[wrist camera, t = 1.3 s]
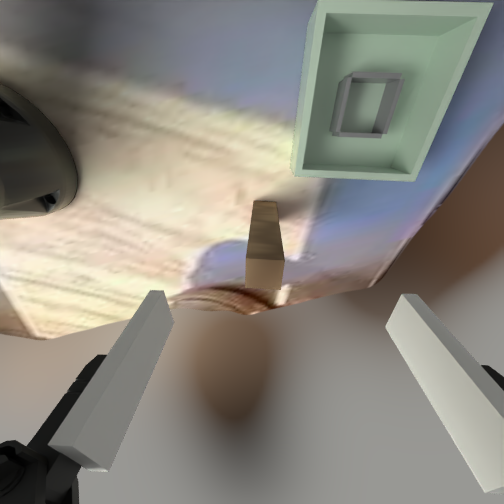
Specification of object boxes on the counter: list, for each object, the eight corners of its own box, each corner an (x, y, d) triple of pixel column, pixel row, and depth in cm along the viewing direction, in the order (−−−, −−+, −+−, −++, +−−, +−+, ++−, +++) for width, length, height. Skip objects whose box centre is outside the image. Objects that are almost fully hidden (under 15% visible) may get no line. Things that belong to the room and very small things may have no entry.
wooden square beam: (252, 221, 29) (245, 287, 17) (253, 200, 28) (245, 258, 16) (273, 222, 29) (280, 289, 17) (275, 201, 28) (284, 260, 16)
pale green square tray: (289, 168, 25) (294, 176, 22) (307, 24, 19) (318, -2, 15) (391, 172, 25) (414, 181, 21) (446, 27, 18) (493, 2, 15)
